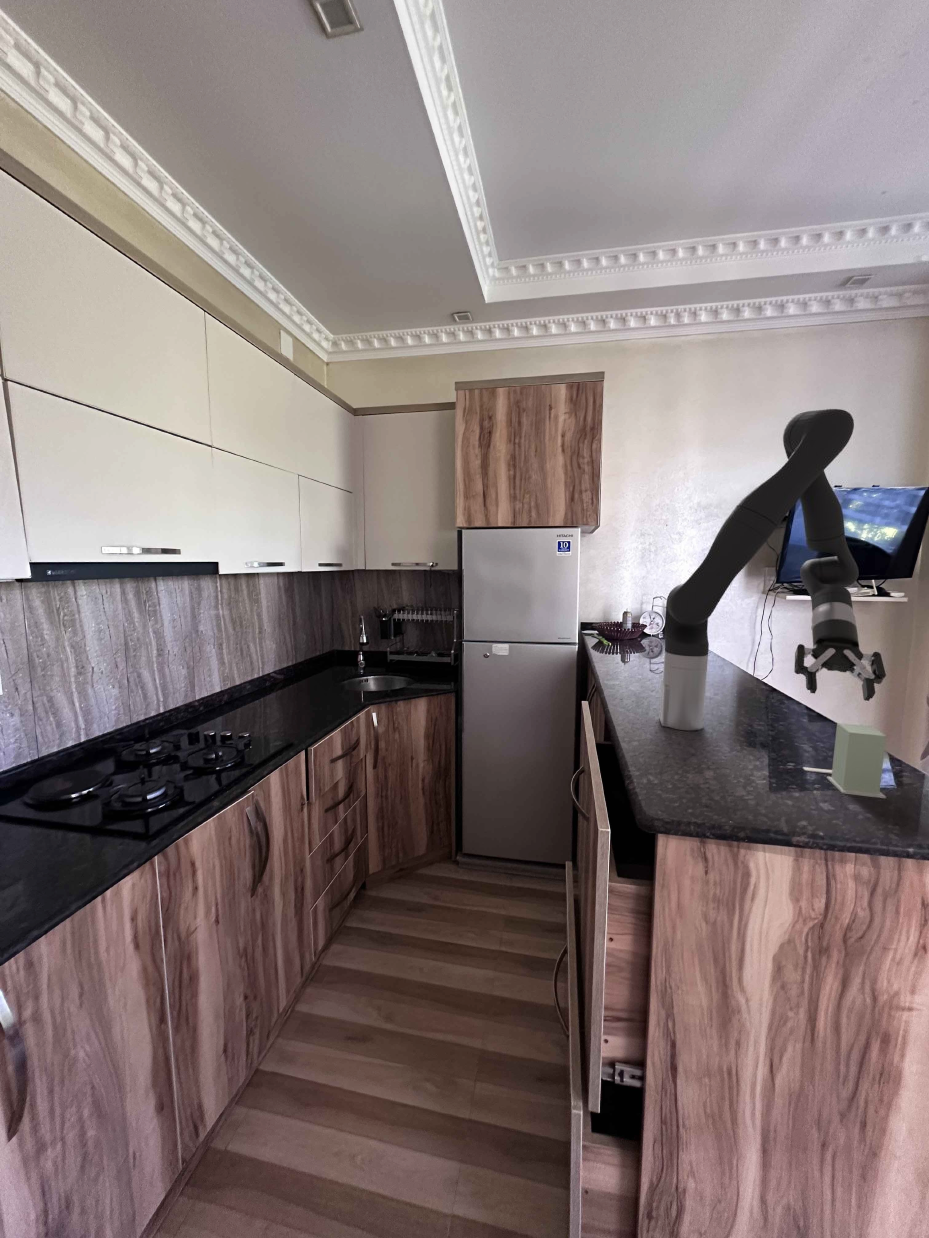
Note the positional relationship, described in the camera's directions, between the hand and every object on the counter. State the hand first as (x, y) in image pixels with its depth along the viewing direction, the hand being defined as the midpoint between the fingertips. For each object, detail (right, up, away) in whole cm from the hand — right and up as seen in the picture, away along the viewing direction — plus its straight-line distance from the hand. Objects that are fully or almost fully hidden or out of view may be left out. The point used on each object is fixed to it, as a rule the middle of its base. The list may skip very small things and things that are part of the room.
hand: (840, 694), depth 94 cm
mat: (-6, -14, -11) cm, 19 cm away
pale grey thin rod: (-4, -14, -5) cm, 15 cm away
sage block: (-6, -14, -10) cm, 18 cm away
